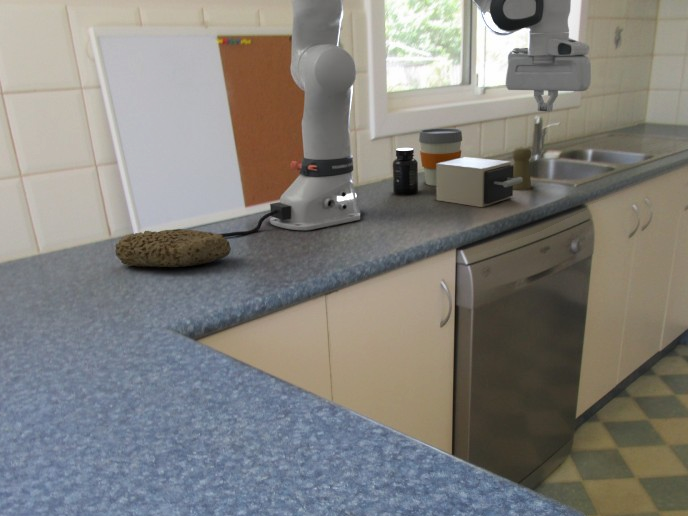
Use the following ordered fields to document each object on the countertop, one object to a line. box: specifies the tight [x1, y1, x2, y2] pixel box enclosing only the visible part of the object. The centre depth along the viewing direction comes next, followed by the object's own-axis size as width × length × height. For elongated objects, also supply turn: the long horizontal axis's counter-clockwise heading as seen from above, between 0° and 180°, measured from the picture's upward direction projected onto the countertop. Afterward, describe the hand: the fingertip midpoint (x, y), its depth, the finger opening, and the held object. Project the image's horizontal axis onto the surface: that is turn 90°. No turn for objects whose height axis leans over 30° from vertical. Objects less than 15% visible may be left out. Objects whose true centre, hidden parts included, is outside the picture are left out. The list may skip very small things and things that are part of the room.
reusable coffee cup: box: [418, 127, 463, 187], centre depth 194 cm, size 13×12×15 cm
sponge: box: [114, 228, 232, 268], centre depth 126 cm, size 13×8×20 cm
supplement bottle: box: [392, 147, 419, 196], centre depth 182 cm, size 7×7×12 cm
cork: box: [511, 146, 532, 191], centre depth 185 cm, size 6×6×11 cm
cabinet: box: [436, 156, 512, 208], centre depth 172 cm, size 15×13×10 cm
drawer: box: [484, 164, 523, 204], centre depth 170 cm, size 18×11×8 cm, turn 49°
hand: (545, 111), depth 153 cm, fingers closed
